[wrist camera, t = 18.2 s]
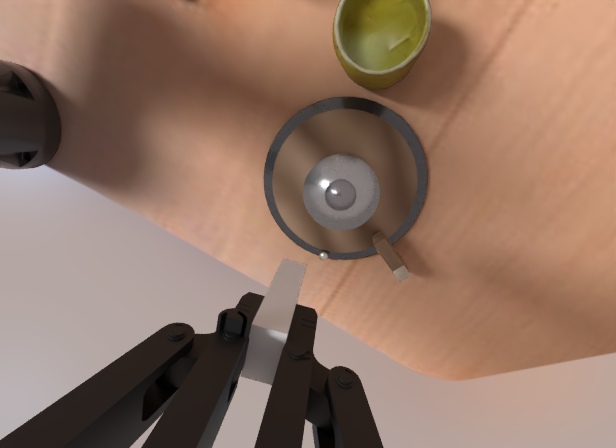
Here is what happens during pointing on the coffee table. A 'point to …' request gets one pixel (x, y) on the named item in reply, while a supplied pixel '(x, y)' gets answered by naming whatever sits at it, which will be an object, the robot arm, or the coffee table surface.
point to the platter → (382, 159)
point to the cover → (341, 191)
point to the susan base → (363, 106)
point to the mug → (380, 38)
